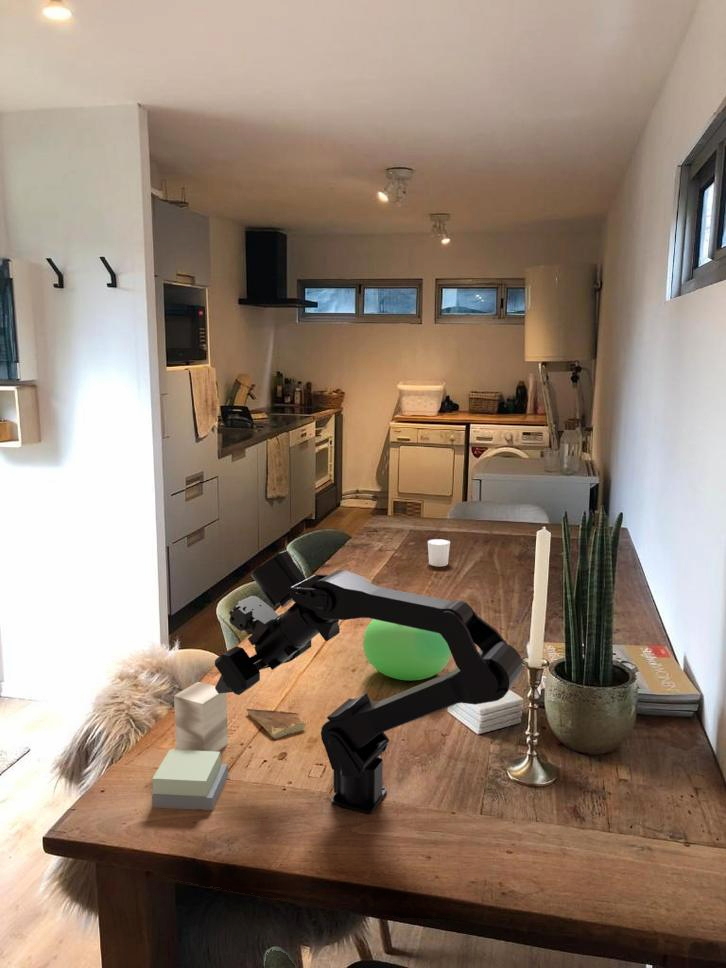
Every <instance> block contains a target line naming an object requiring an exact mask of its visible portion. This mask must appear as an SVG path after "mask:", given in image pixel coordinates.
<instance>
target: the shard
mask: <svg viewBox="0 0 726 968" xmlns="http://www.w3.org/2000/svg"><path fill="white" fill-rule="evenodd" d="M246 711H247V715H248V716H249V717H250V718H251V719H253V720H254V721H255V722H256V723H258V724H259V725H260V726H262V727H263V729H264V730H265V731H266V732H267V733H268V734H269V735H270V737H271V738H273V739H274V740H275V739H278V738H282V737H285V736H288V735H291V734H295V732H296V733H300V732H302V731H304V728H305V727H306V725H307V722H306V721H305V720H303V718H302V717H301V713H297V712H291V711H290V712H286V711H280V710H267V709H266V710H265V709H252V708H251V709H249V708H246ZM290 733H291V734H290ZM287 734H288V735H287ZM284 735H285V736H284Z"/></svg>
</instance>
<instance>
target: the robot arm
mask: <svg viewBox="0 0 726 968" xmlns="http://www.w3.org/2000/svg"><path fill="white" fill-rule="evenodd" d="M250 577H252V579H253V581H254V582H255V583H256V584H257V586H258V587H259V589H260V590H261V592H262V593H263V594H264V596H265V597H266V599H267V600H268V601H269V602H270V604H271V606H273V607H274V608H275V607H277V606H278V605H280V606H281V607H282V608H284V607H285V606H287V605H289V604H290V603H292V602H294V603H293V604H292V605H291V606H289V607H288V609H286V610H285V611H284V612H282V613H281V614H278V613H277V612H276V611H275V609H274V608H273V607H271V606H270V605H269V604H267V602H265V601H263V600H262V599H261V598H260V597H258V596H256V595H250V596H248V597H246V598H244V599H241V600H239V601H238V602H237V605H235V606H234V607H233V609H231V610H230V611H229V613H228V614H229V616H230V617H229V620H228V621H229V623H230V625H231V626H233V627H234V628H235V629H236V630H238V631H239V632H243V631H244V632H246V633H248V634H249V635H250V636H249V637H248V638H247V640H248V642H249V643H250V644H251V645H252V646H254V647H253V648H254V651H255V654H254V655H252V656H249V655H248V653H247V651H246V650H245V649H244V647H241V646H238V645H237V646H234V647H232V648H230V649H228V650H227V651H225V652H223V653H221V655H219V656H217V658H216V659H215V660H214V667H215V668H216V669H217V670H218V672H219V674H220V677H219V679H218V680H217V683H216V684H215V686H216V687H215V689H216V691H217V692H218V693H219V694H220V693H226V694H229V693H234V694H235V695H237V696H240V695H241V694H243V693H244V692H246V691H248V690H250V689H251V688H252V687H254V686H255V685H256V684H257V683H259V682H260V681H261V672H260V671H261V670H264V669H269V668H270V669H271V670H272V671H273V670H275V669H277V668H278V667H280V666H281V665H283V664H286V663H291V662H292V661H293V660H294V659H297V658H298V657H299V656H301V655H303V654H304V653H306V652H307V651H308V650H309V649H310V648H311V647H312V639H314V638H315V637H316V636H317V635H318V634H320V636H321V637H322V639H323V641H326V642H329V641H330V640H332V639H333V638H335V637H336V636H337V635H338V634H340V625H339V623H340V620H341V621H347V620H356V619H371V620H373V619H375V620H380V621H384V622H389V623H394V624H398V625H403V626H407V627H412V628H417V629H421V630H426V631H430V632H435V633H440V634H441V635H442V637H443V638H444V639H445V641H446V642H447V644H448V646H449V649H450V651H451V656H452V659H453V661H454V664H455V665H456V667H457V668H455V669H454V670H451V671H449V672H447V673H444V674H442V675H440V676H436V677H434V678H432V679H430V680H429V679H428V680H427V681H425V682H422V683H420V684H418V685H415V686H412V687H410V688H408V689H406V690H403V691H401V692H398V693H396V694H394V695H391V696H389V697H386V698H384V699H382V700H378V701H377V700H371V699H370V696H369V694H368V692H367V691H366V692H364V693H363V694H362V695H360V696H358V697H357V698H347V700H346V701H345V702H343V703H342V704H341V705H339V707H337V708H336V709H335V710H334V711H332V712H331V713H330V714H329V715H328V716H327V717H326V719H327V720H328V721H326V722H325V723H324V724H323V725H322V727H321V731H320V735H321V737H320V738H321V739H320V740H321V741H322V744H323V747H324V749H325V751H326V755H327V757H328V761H329V764H330V767H331V770H332V771H333V772H332V773H333V778H332V779H333V793H334V795H333V797H332V798H331V801H330V802H331V804H332V805H336V806H338V807H343V808H345V809H350V810H353V811H357V812H360V813H365V814H366V815H367V814H372V813H373V812H374V810H375V809H376V807H378V805H379V804H380V802H381V801H382V799H383V798H384V797H385V795H386V794H387V792H388V790H387V788H386V787H385V786H383V780H384V779H383V776H384V775H383V769H384V767H383V766H384V765H383V763H384V761H383V758H381V757H380V756H381V755H382V753H385V752H386V751H387V749H388V745H389V743H390V739H389V737H388V736H387V735H386V733H385V732H387V731H390V730H392V729H393V730H394V729H395V728H397V727H398V728H399V727H400V726H403V725H405V724H408V723H410V722H413V721H416V720H419V719H422V718H424V717H426V716H429V715H431V714H434V713H436V712H439V711H442V710H444V709H447V708H449V707H452V706H455V705H458V704H467V705H481V704H482V705H483V704H485V703H492V702H494V703H495V702H497V701H500V700H501V699H503V698H504V697H505V696H506V695H507V694H508V692H509V691H510V690H511V689H512V687H513V686H514V684H515V683H516V682H517V680H518V679H519V678H520V677H521V675H522V672H523V668H524V665H523V663H524V662H523V660H522V657H521V654H520V653H519V652H518V650H517V649H515V648H514V647H513V646H512V645H511V644H508V643H507V641H506V640H505V639H504V638H503V636H502V635H501V634H500V633H499V632H498V630H496V628H495V627H493V626H492V625H491V624H489V623H488V622H486V621H485V620H484V619H482V618H481V617H480V616H479V615H478V614H477V613H476V611H474V609H473V608H472V607H471V606H470V605H469V604H468V603H467V602H465V601H462V600H448V599H442V598H439V597H434V596H433V597H432V596H427V595H422V594H417V593H412V592H407V591H401V590H398V589H391V588H388V587H383V586H382V587H381V586H379V585H375V584H373V583H372V582H371V581H369V579H367V578H366V577H364V576H362V575H360V574H356V573H354V572H351V571H349V570H346V569H340V570H339V569H338V570H336V571H334V572H332V573H330V574H323V573H321V574H320V573H314V574H313V575H311V576H309V577H305V575H304V574H303V572H302V571H301V569H300V568H299V567H298V565H297V564H296V563H295V561H294V560H293V557H292V556H291V554H290V553H289V551H288V550H286V549H284V550H283V551H280V552H278V553H277V554H276V555H274V556H273V557H271V558H270V559H269V560H267V561H266V562H265V563H263V564H261V565H259V566H257V567H256V568H255V569H254V570H253V571H252V572H251V574H250ZM477 646H478V647H477ZM477 648H479V650H480V651H478V649H477Z"/></svg>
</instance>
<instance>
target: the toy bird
mask: <svg viewBox="0 0 726 968" xmlns="http://www.w3.org/2000/svg"><path fill="white" fill-rule="evenodd" d="M362 639H363V640H362V642H363V643H362V644H363V645H362V646H363V652H364V654H365V657H366V659H367V661H368V663H369V664H370V665H371V666H372V667H373V668H374V669H375V670H376V671H377V672H380V673H381V674H382V675H384V676H387V677H390V678H392V679H396V680H400V681H408V682H409V681H421V680H424V679H429V678H431V677H433V676H436V675H437V674H439V673H441V672H442V670H443V669H444V668H445V667H446V665H447V664H448V662H449V660H450V659H451V656H452V654H451V651H450V649H449V646H448V644H447V642H446V641H445V639H444V638H443V637H442V635H441V634H440V633H435V632H430V631H426V630H421V629H417V628H412V627H407V626H403V625H398V624H394V623H389V622H384V621H380V620H375V619H371V621H369V623H368V625H367V627H366V629H365V632H364V635H363V638H362Z"/></svg>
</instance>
